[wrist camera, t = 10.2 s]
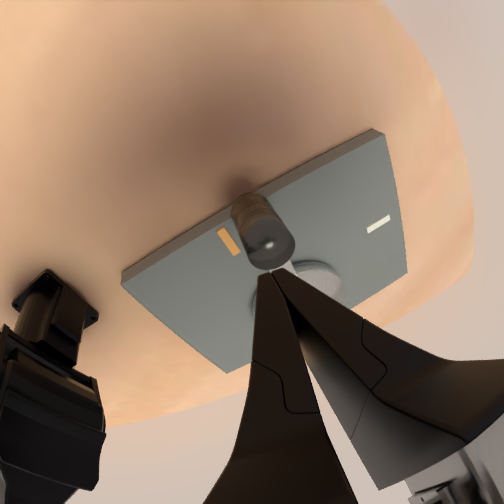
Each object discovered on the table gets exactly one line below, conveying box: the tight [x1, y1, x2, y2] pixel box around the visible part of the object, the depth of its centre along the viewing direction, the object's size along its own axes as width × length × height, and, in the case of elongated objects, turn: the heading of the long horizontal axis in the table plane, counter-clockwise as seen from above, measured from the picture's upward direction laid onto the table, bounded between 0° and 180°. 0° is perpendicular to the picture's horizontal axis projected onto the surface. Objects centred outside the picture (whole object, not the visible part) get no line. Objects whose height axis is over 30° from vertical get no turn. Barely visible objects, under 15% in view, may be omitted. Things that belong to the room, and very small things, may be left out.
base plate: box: [121, 129, 407, 373], centre depth 25 cm, size 22×16×2 cm
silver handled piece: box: [231, 192, 347, 318], centre depth 21 cm, size 15×8×5 cm, turn 25°
